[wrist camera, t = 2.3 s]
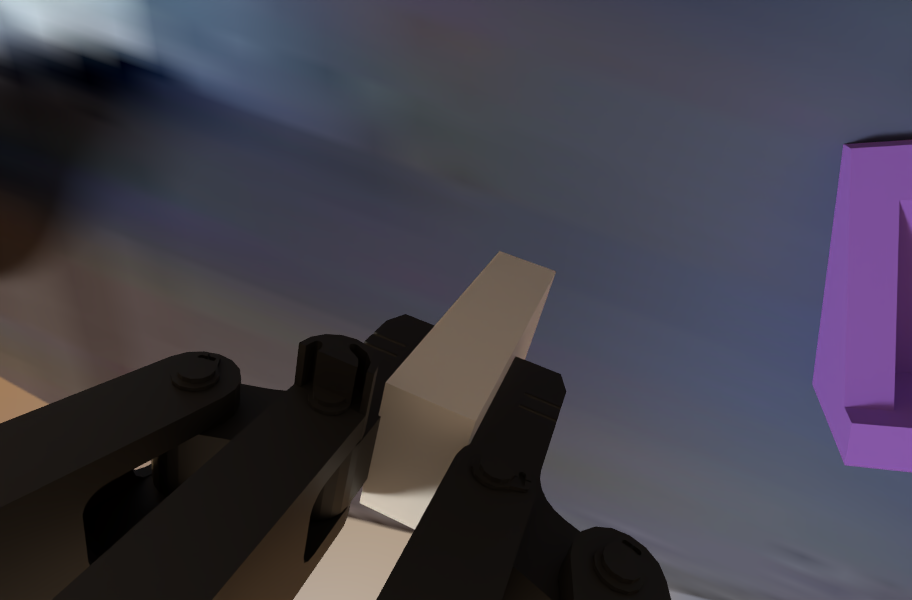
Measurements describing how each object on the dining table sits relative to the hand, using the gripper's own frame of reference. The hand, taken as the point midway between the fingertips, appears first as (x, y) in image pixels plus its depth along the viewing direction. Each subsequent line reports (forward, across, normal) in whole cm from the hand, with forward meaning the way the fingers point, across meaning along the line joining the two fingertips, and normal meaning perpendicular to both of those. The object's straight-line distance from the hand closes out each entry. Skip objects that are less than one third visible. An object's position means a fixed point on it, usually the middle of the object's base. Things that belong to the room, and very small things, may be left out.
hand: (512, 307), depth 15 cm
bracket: (+17, +15, 0) cm, 23 cm away
